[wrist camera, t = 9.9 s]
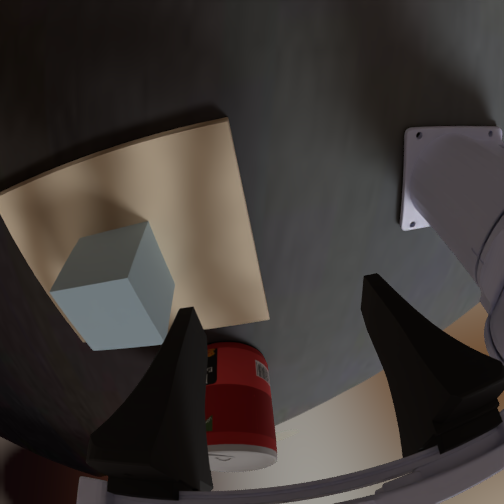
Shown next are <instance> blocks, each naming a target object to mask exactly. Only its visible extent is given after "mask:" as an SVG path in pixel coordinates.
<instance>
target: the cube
mask: <svg viewBox="0 0 504 504" xmlns="http://www.w3.org/2000/svg"><path fill="white" fill-rule="evenodd" d="M174 288H175V283H174V280H173V278H172V276H171V274H170V271H169V269H168V267H167V265H166V262H165V260H164V258H163V255H162V253H161V251H160V248H159V246H158V243H157V241H156V239H155V236H154V234H153V231H152V229H151V226H150V224H149V221H146V222H142V223H138V224H134V225H129V226H125V227H121V228H117V229H113V230H109V231H105V232H101V233H97V234H94V235H90V236H86V237H82V238H79V240H78V242H77V243H76V245H75V247H74V248H73V250H72V252H71V254H70V255H69V257H68V259H67V261H66V262H65V264H64V266H63V268H62V269H61V271H60V273H59V275H58V277H57V279H56V280H55V282H54V284H53V286H52V288H51V290H50V292H49V293H50V294H51V295H52V297H53V298H54V300H55V301H56V303H57V304H58V305H59V307H60V308H61V310H62V311H63V312H64V314H65V315H66V316H67V318H68V319H69V320H70V322H71V323H72V324H73V326H74V327H75V328H76V330H77V331H78V332H79V333H80V335H81V336H82V337H83V339H84V340H85V341H86V342H87V343H88V345H89V346H90V347H91V348H92V350H93V351H95V350H109V349H122V348H133V347H143V346H153V345H162V343H163V342H164V340H165V338H166V336H167V333H168V326H169V319H170V313H171V306H172V300H173V294H174Z"/></svg>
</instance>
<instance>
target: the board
mask: <svg viewBox="0 0 504 504" xmlns="http://www.w3.org/2000/svg"><path fill="white" fill-rule="evenodd" d="M0 214H1V216H2V218H3V220H4V222H5V224H6V226H7V228H8V230H9V231H10V233H11V235H12V237H13V239H14V241H15V242H16V244H17V246H18V248H19V249H20V251H21V253H22V254H23V256H24V258H25V259H26V261H27V263H28V264H29V266H30V268H31V269H32V271H33V272H34V274H35V276H36V277H37V279H38V280H39V282H40V283H41V285H42V286H43V288H44V289H45V291H46V292H47V294H48V295H49V297H50V298H51V300H52V301H53V303H54V304H55V305H56V307H57V308H58V310H59V311H60V312H61V314H62V315H63V316H64V318H65V319H66V321H67V322H68V323H69V325H70V326H71V327H72V328H73V330H74V331H75V332H76V334H77V335H78V336H79V337H80V339H81V340H82V341H83V342H86V341H85V340H84V339H83V337H82V336H81V335H80V333H79V332H78V331H77V330H76V328H75V327H74V326H73V324H72V323H71V322H70V320H69V319H68V318H67V316H66V315H65V314H64V312H63V311H62V310H61V308H60V307H59V305H58V304H57V303H56V301H55V300H54V298H53V297H52V295H51V294H50V293H49V292H50V290H51V288H52V286H53V284H54V282H55V280H56V279H57V277H58V275H59V273H60V271H61V269H62V268H63V266H64V264H65V262H66V261H67V259H68V257H69V255H70V254H71V252H72V250H73V248H74V247H75V245H76V243H77V242H78V240H79V238H82V237H86V236H90V235H94V234H97V233H101V232H105V231H109V230H113V229H117V228H121V227H125V226H129V225H134V224H138V223H142V222H146V221H149V224H150V226H151V229H152V231H153V234H154V236H155V239H156V241H157V243H158V246H159V248H160V251H161V253H162V255H163V258H164V260H165V262H166V265H167V267H168V269H169V271H170V274H171V276H172V278H173V280H174V283H175V288H174V294H173V300H172V306H171V313H170V319H169V326H168V332H169V330H170V327H171V325H172V323H173V321H174V319H175V317H176V315H177V312H178V310H179V309H180V308H186V307H193V306H194V309H195V311H196V313H197V316H198V318H199V320H200V322H201V325H202V327H203V329H204V330H205V329H212V328H219V327H226V326H232V325H239V324H245V323H252V322H258V321H264V320H270V319H269V312H268V306H267V301H266V296H265V292H264V287H263V282H262V277H261V272H260V267H259V263H258V258H257V253H256V248H255V243H254V238H253V234H252V229H251V224H250V219H249V215H248V210H247V205H246V200H245V195H244V191H243V186H242V181H241V176H240V172H239V167H238V162H237V157H236V153H235V148H234V143H233V138H232V134H231V129H230V124H229V120H228V117H225V118H220V119H215V120H211V121H206V122H202V123H197V124H193V125H189V126H185V127H181V128H177V129H173V130H169V131H165V132H161V133H158V134H154V135H150V136H147V137H144V138H140V139H137V140H133V141H130V142H127V143H124V144H120V145H117V146H114V147H111V148H108V149H105V150H102V151H99V152H96V153H93V154H91V155H88V156H85V157H82V158H80V159H77V160H74V161H72V162H69V163H66V164H64V165H61V166H59V167H56V168H54V169H51V170H49V171H46V172H44V173H42V174H39V175H37V176H34V177H32V178H30V179H28V180H25V181H23V182H21V183H19V184H17V185H14V186H12V187H10V188H8V189H6V190H4V191H2V192H0ZM167 334H168V333H167Z"/></svg>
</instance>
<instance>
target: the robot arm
mask: <svg viewBox="0 0 504 504" xmlns="http://www.w3.org/2000/svg"><path fill="white" fill-rule="evenodd" d="M489 131H490V133H489ZM418 132H419V133H420V135H419V136H418V137H417V138H416V134H417V133H418ZM488 133H489V135H488ZM411 222H413V223H412V224H410V223H411ZM428 226H431V227H432V228H433V229H434V231H435V232H436V233H437V234H438V235H439V237H440V238H441V239H442V240H443V241H444V243H445V244H446V245H447V246H448V247H449V249H450V250H451V251H452V252H453V254H454V255H455V256H456V257H457V259H458V260H459V261H460V262H461V264H462V265H463V266H464V268H465V269H466V270H467V272H468V273H469V274H470V276H471V277H472V278H473V280H474V281H475V282H476V284H477V285H478V286H479V288H480V290H481V298H480V302H481V304H482V305H483V307H484V308H485V310H486V311H487V313H488V314H489V315H488V318H487V320H486V323H485V329H484V338H485V344H486V348H487V351H488V353H489V355H490V356H487V355H485V354H482V353H480V352H478V351H476V350H474V349H472V348H470V347H468V346H467V345H465V344H463V343H461V342H460V341H458V340H456V339H455V338H453V337H451V336H450V335H448V334H447V333H445V332H444V331H442V330H441V329H439V328H438V327H437V326H435V325H434V324H433V323H431V322H430V321H429V320H428V319H426V318H425V317H424V316H423V315H421V314H420V313H419V312H418V311H417V310H416V309H414V308H413V307H412V306H411V305H410V304H409V303H408V302H407V301H406V300H405V299H403V298H402V297H401V296H400V295H399V294H398V293H397V292H396V291H395V290H394V289H393V288H392V287H391V286H390V285H389V284H388V283H387V282H386V281H385V280H384V279H383V278H382V277H381V276H380V275H379V274H377V273H376V274H371V275H366V276H364V280H363V291H362V302H361V311H362V315H363V318H364V322H365V325H366V328H367V331H368V333H369V336H370V338H371V340H372V343H373V345H374V347H375V350H376V352H377V354H378V357H379V359H380V361H381V364H382V366H383V369H384V371H385V374H386V377H387V380H388V384H389V387H390V391H391V395H392V399H393V403H394V408H395V412H396V417H397V422H398V427H399V432H400V439H401V446H402V455H403V458H402V459H399V460H396V461H393V462H389V463H386V464H383V465H380V466H376V467H373V468H369V469H366V470H362V471H358V472H354V473H350V474H346V475H341V476H337V477H332V478H328V479H322V480H317V481H312V482H306V483H300V484H293V485H286V486H279V487H270V488H260V489H249V490H235V491H211V490H212V489H213V483H212V477H211V470H210V464H209V455H208V447H207V436H206V422H205V394H206V379H207V364H208V349H207V336H206V334H205V331H204V329H203V327H202V325H201V322H200V320H199V318H198V316H197V313H196V311H195V309H194V306H193V307H186V308H180V309H179V310H178V312H177V315H176V317H175V319H174V321H173V323H172V325H171V327H170V330H169V332H168V334H167V336H166V338H165V340H164V342H163V343H162V345H161V347H160V349H159V351H158V353H157V355H156V356H155V358H154V360H153V362H152V363H151V365H150V367H149V368H148V370H147V372H146V373H145V375H144V376H143V378H142V379H141V381H140V382H139V383H138V385H137V386H136V388H135V389H134V390H133V391H132V393H131V394H130V395H129V397H128V398H127V399H126V400H125V402H124V403H123V404H122V405H121V406H120V407H119V408H118V409H117V410H116V411H115V413H114V414H113V415H112V416H111V417H110V418H109V419H108V420H107V421H106V422H105V423H103V424H102V425H101V426H100V427H99V428H98V429H97V430H96V431H94V432H93V433H92V434H91V436H90V440H89V444H88V451H87V458H86V463H87V464H88V465H89V466H90V467H92V468H94V469H96V470H98V471H99V472H101V473H103V474H105V475H107V476H108V482H107V481H104V480H99V479H94V478H88V477H83V476H81V477H80V480H79V488H78V496H77V504H279V503H287V502H294V501H300V500H307V499H313V498H319V497H324V496H329V495H333V494H338V493H343V492H347V491H351V490H355V489H359V488H363V487H367V486H370V485H373V484H377V483H380V482H384V481H387V480H390V479H393V478H397V477H399V478H397V479H395V480H392V481H389V482H387V483H384V484H383V486H382V488H380V489H378V490H376V491H375V495H370V496H366V497H362V498H358V499H353V500H349V501H344V502H340V503H335V504H439V503H441V502H443V501H445V500H448V499H450V498H452V497H454V496H456V495H458V494H460V493H462V492H464V491H466V490H468V489H470V488H472V487H474V486H475V485H477V484H479V483H481V482H482V481H484V480H486V479H488V478H490V477H491V476H493V475H495V474H496V473H498V472H500V471H501V470H503V469H504V409H503V410H502V411H501V412H499V411H498V409H497V407H498V406H499V402H498V399H497V398H498V396H499V395H500V394H501V393H502V392H503V391H504V142H502V130H501V128H499V127H496V126H432V127H410V128H408V129H407V130H406V131H405V134H404V170H403V189H402V203H401V214H400V227H401V229H402V230H404V231H407V230H412V229H418V228H423V227H428ZM411 472H412V473H411ZM408 473H409V474H408ZM405 474H407V475H405ZM403 475H404V476H403ZM400 476H402V477H400Z"/></svg>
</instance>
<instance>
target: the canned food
mask: <svg viewBox="0 0 504 504" xmlns="http://www.w3.org/2000/svg"><path fill="white" fill-rule="evenodd" d="M207 349H208V364H207V379H206V394H205V422H206V436H207V447H208V455H209V464H210V470H211V471H219V472H244V471H252V470H258V469H262V468H266V467H268V466H271V465H273V464H274V463H276V461H277V447H276V435H275V426H274V417H273V409H272V400H271V391H270V382H269V373H268V365H267V363H266V361H265V358H264V356H263V355H262V354H261V353H260V352H259V351H258V350H257V349H255V348H253V347H251V346H248V345H245V344H242V343H236V342H218V343H213V344H209V345H207Z"/></svg>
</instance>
